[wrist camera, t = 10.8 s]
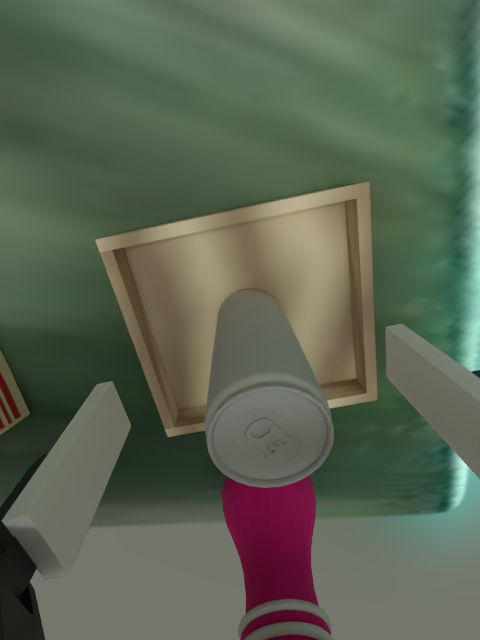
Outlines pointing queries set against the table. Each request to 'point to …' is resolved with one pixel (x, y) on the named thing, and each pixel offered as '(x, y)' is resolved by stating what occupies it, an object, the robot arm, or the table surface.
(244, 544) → the pepper mill
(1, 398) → the milk carton
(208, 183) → the table surface
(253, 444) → the beverage can
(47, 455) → the robot arm
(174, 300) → the tray
